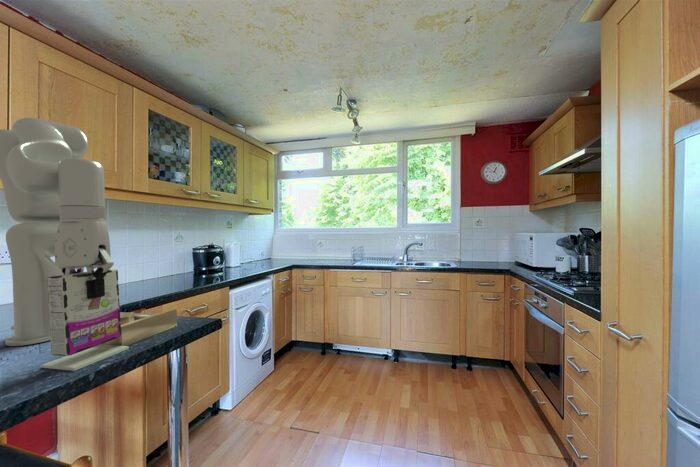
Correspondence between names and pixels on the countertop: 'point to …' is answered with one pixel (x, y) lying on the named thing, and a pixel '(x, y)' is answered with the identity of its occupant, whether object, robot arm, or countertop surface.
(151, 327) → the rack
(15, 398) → the countertop surface
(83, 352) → the tile
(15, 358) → the countertop surface
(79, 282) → the candy bar box
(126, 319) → the offcut upper
